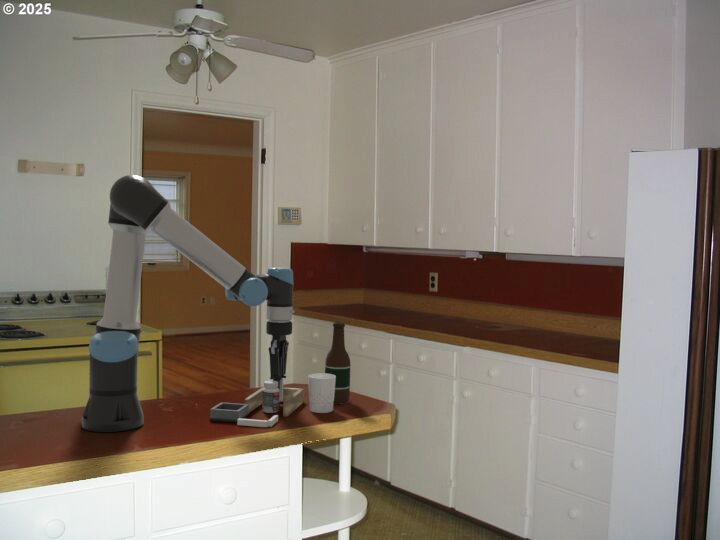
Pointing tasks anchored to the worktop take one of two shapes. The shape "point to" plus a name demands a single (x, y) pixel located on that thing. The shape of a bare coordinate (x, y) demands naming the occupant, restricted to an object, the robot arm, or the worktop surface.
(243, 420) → the white l-shaped block
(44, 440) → the worktop surface
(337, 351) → the beer bottle
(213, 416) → the bin
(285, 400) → the cubby
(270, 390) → the pill bottle
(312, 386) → the white cup
